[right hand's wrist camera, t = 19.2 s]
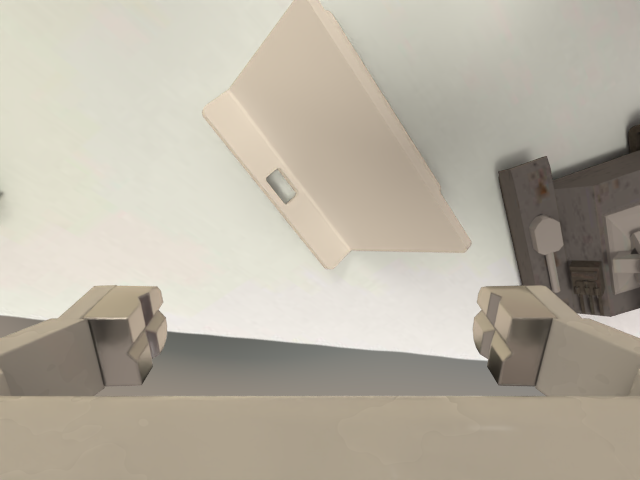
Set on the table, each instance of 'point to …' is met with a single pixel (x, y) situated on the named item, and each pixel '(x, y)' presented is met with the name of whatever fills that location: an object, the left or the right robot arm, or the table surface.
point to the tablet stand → (331, 145)
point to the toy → (579, 230)
